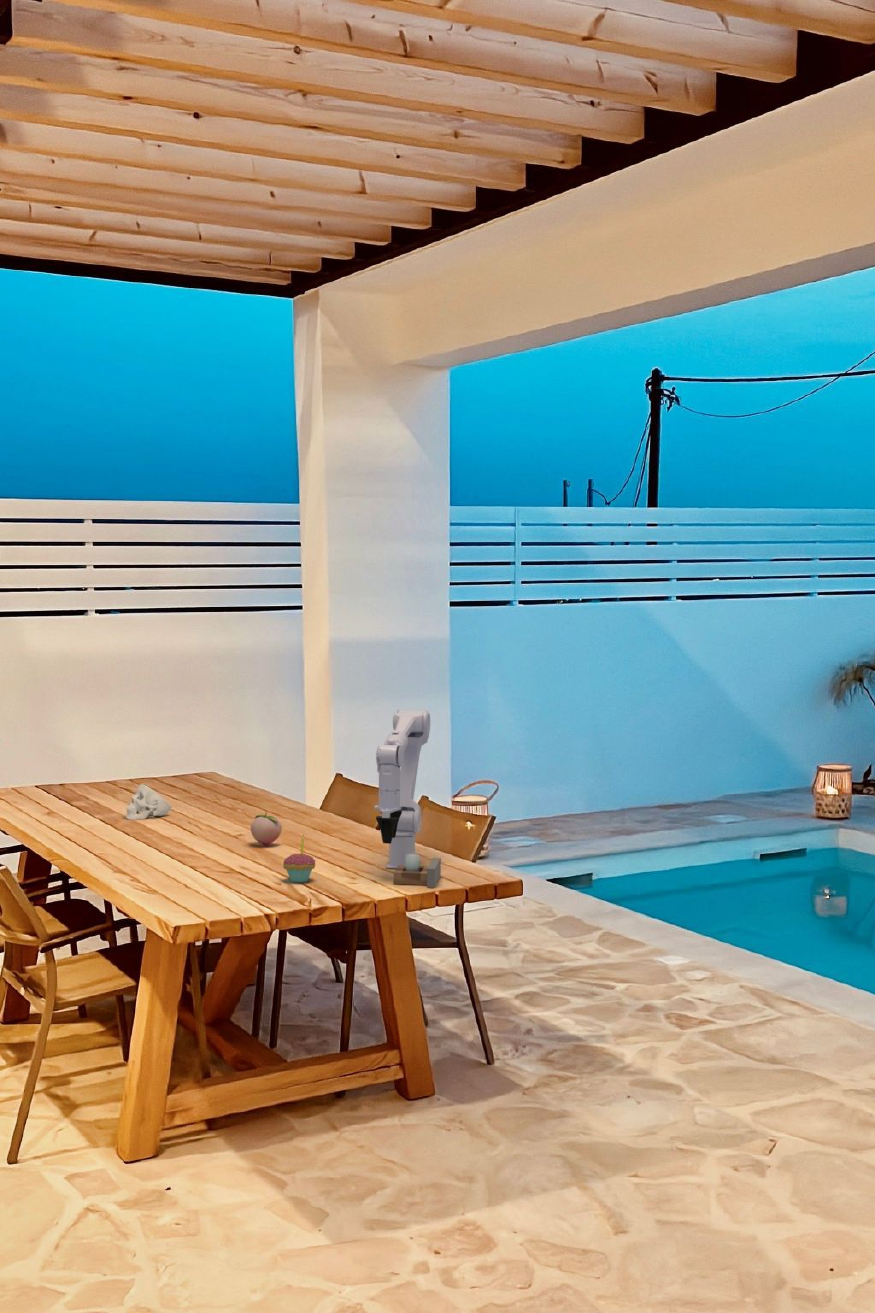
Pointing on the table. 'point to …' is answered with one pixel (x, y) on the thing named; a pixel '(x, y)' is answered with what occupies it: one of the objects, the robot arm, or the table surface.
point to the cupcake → (299, 865)
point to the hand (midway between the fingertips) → (389, 840)
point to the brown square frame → (410, 876)
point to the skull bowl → (146, 804)
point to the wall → (433, 872)
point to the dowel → (412, 862)
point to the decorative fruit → (265, 829)
